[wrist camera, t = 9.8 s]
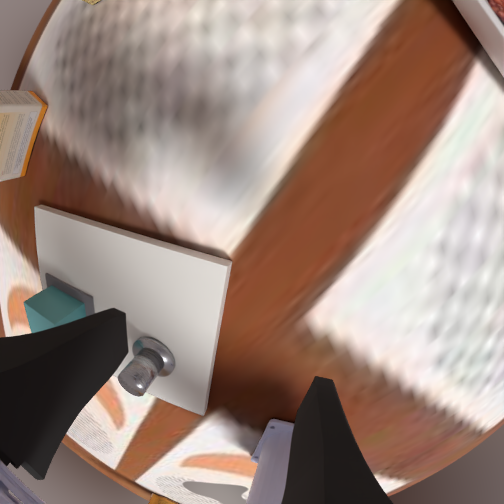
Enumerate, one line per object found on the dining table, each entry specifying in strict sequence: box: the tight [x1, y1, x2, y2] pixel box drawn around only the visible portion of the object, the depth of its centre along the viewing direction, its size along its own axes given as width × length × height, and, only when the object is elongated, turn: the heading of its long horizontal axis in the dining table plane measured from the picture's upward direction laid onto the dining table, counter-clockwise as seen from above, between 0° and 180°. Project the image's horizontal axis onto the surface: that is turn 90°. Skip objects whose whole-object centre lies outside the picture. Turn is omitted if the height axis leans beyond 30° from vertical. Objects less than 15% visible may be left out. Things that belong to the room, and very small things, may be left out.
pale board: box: [34, 205, 232, 416], centre depth 22 cm, size 16×20×1 cm
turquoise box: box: [24, 285, 86, 333], centre depth 21 cm, size 5×5×4 cm
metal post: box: [118, 336, 176, 396], centre depth 20 cm, size 4×4×4 cm
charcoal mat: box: [45, 273, 95, 316], centre depth 23 cm, size 7×7×1 cm
